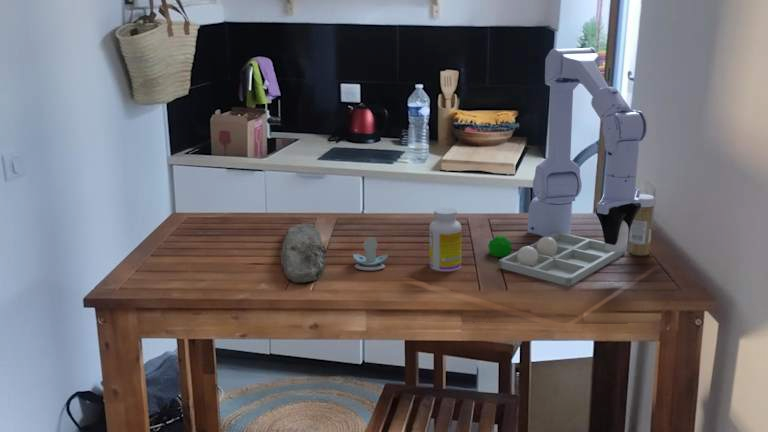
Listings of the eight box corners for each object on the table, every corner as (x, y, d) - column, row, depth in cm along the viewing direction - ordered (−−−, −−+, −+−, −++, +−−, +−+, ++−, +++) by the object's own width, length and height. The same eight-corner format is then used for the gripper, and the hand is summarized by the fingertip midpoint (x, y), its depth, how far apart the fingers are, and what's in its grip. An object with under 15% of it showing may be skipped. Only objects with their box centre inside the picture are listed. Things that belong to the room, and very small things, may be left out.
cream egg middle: (532, 257, 169) (533, 237, 168) (542, 251, 172) (543, 232, 171) (550, 261, 166) (551, 241, 165) (560, 256, 170) (561, 236, 168)
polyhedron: (505, 263, 168) (506, 242, 167) (484, 259, 171) (485, 238, 169) (514, 256, 172) (515, 235, 171) (494, 252, 175) (494, 232, 173)
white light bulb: (600, 248, 157) (602, 219, 155) (610, 243, 160) (612, 214, 158) (620, 253, 154) (623, 223, 152) (630, 247, 157) (633, 218, 155)
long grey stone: (323, 237, 192) (283, 241, 191) (321, 216, 191) (280, 220, 190) (330, 282, 158) (281, 288, 157) (328, 257, 157) (278, 263, 156)
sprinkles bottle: (654, 256, 171) (659, 196, 167) (640, 260, 168) (645, 200, 164) (636, 250, 174) (641, 192, 170) (623, 254, 172) (627, 195, 168)
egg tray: (498, 271, 164) (498, 260, 163) (556, 241, 181) (557, 231, 180) (569, 290, 153) (569, 278, 153) (624, 257, 170) (625, 246, 170)
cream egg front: (512, 267, 164) (513, 247, 162) (523, 261, 167) (524, 241, 165) (530, 271, 161) (531, 251, 160) (542, 265, 164) (542, 245, 163)
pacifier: (386, 273, 164) (388, 262, 170) (385, 245, 162) (388, 235, 168) (351, 272, 165) (355, 261, 171) (350, 244, 163) (354, 234, 169)
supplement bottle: (467, 268, 165) (468, 210, 162) (447, 277, 161) (447, 217, 157) (443, 261, 170) (443, 204, 166) (422, 269, 165) (422, 210, 162)
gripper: (623, 184, 145) (618, 254, 149) (656, 170, 155) (650, 235, 159) (588, 179, 149) (584, 246, 153) (622, 164, 160) (618, 228, 164)
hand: (616, 240), depth 156 cm, fingers closed on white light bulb, 4 cm apart
